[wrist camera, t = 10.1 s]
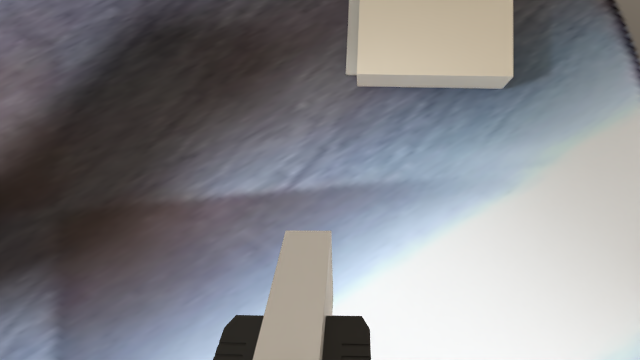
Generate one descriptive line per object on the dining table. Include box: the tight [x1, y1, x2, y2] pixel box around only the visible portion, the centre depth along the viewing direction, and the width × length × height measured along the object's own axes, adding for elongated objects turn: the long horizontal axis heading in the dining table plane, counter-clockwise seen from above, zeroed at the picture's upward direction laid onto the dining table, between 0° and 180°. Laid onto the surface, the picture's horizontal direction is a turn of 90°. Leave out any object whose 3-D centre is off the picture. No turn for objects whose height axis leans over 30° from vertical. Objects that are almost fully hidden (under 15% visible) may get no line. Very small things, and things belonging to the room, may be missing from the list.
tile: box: [357, 0, 513, 89], centre depth 41 cm, size 12×3×10 cm
